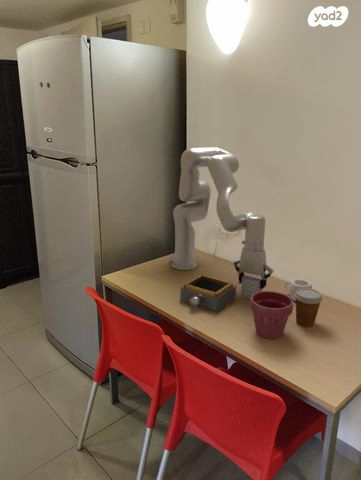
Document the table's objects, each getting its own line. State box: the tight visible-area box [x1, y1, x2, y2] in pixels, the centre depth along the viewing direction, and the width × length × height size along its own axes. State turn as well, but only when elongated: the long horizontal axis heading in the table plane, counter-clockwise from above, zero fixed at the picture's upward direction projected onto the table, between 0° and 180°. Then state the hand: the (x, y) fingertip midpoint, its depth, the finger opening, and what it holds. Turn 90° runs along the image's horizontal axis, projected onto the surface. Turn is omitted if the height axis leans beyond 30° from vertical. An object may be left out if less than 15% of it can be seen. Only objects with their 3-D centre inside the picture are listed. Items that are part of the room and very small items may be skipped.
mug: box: [284, 278, 313, 302], centre depth 162 cm, size 12×8×8 cm
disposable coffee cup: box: [295, 288, 323, 328], centre depth 142 cm, size 10×10×12 cm
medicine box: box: [240, 274, 264, 300], centre depth 163 cm, size 8×4×9 cm, turn 58°
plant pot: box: [249, 290, 294, 340], centre depth 136 cm, size 14×14×13 cm
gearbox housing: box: [179, 274, 237, 315], centre depth 158 cm, size 17×19×8 cm
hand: (251, 285), depth 162 cm, fingers open, 9 cm apart
